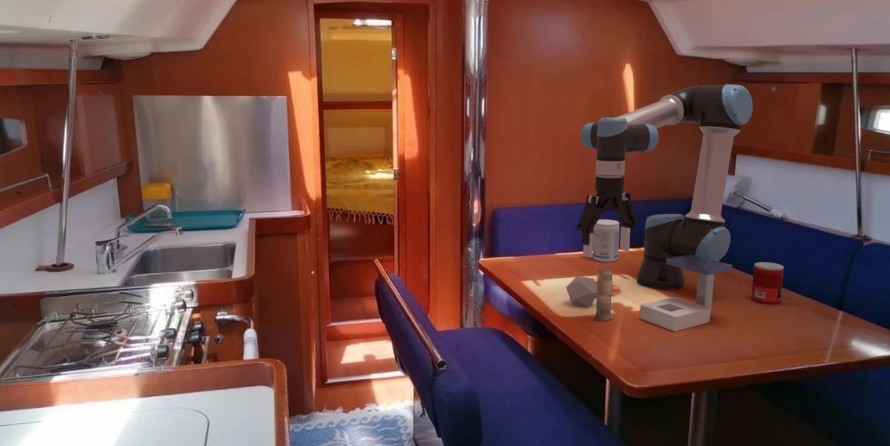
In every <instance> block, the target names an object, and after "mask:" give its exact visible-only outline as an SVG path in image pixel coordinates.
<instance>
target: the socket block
mask: <svg viewBox="0 0 890 446" xmlns="http://www.w3.org/2000/svg"><path fill="white" fill-rule="evenodd" d="M710 309H711V310H712V308H708V307H705V306H702V305H699V304H696V302H692V301H690V300H686V299H683V298H681V297H677V296H672V297H669V298H663V299H659V300H654V301H651V302H647V303H645V302H644V303H643V304H640V306H639V319H640V320H644V321H646V322H649V323H651V324H654V325H655V326H659V327H662V328H664V329H666V330H669V331H672V332H677V331H681V330H685V329H689V328H693V327H697V326H702V325H704V324H709V323H710V322H711V321H710V318H711V314H710Z"/></svg>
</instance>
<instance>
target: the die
mask: <svg viewBox="0 0 890 446" xmlns="http://www.w3.org/2000/svg"><path fill="white" fill-rule="evenodd" d="M565 289H566V291H567V293H568V297H569V299H570V302H571V304H572V305H578V306H581V307H590V305H591V304H592V303H593V302H594V301H595V300H597V283H596V282H595V279H594V278H593V277H585V276H580V275H576V276H575V277H574V278H573V279H572V281H570V283H569V284H568V285H567V286H566V287H565Z"/></svg>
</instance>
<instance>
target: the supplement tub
mask: <svg viewBox="0 0 890 446" xmlns="http://www.w3.org/2000/svg"><path fill="white" fill-rule="evenodd" d="M592 231H593V250H592V259H593V260H594V261H596V262H603V263H612V262H616V261H618V260H619V254H620V253H619V250H620V222H619V221H618V220H614V219H599V220H598V221H597V223H596V225H595V226H594V228H593V229H592Z"/></svg>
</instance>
